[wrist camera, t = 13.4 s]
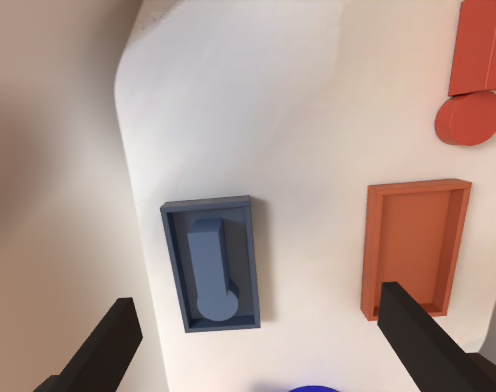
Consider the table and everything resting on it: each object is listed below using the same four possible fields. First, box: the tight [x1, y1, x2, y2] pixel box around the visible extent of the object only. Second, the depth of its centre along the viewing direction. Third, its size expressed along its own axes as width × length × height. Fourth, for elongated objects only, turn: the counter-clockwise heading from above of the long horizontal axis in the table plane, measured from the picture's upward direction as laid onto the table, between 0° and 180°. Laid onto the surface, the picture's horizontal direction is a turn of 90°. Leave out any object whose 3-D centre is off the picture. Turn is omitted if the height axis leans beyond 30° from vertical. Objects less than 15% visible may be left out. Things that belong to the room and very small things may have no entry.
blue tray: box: [160, 195, 261, 333], centre depth 26 cm, size 16×9×2 cm, turn 5°
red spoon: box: [435, 0, 496, 146], centre depth 20 cm, size 12×5×4 cm, turn 5°
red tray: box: [361, 179, 472, 321], centre depth 26 cm, size 16×9×2 cm, turn 5°
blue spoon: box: [187, 218, 239, 321], centre depth 25 cm, size 12×5×4 cm, turn 5°
